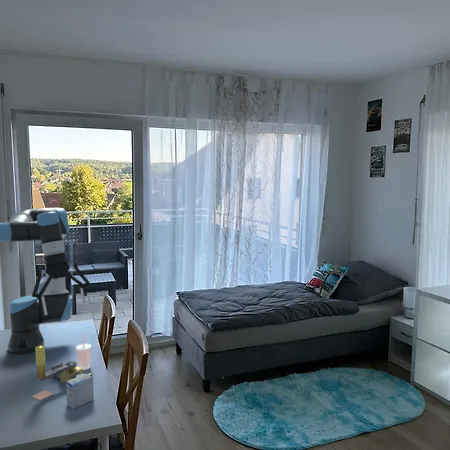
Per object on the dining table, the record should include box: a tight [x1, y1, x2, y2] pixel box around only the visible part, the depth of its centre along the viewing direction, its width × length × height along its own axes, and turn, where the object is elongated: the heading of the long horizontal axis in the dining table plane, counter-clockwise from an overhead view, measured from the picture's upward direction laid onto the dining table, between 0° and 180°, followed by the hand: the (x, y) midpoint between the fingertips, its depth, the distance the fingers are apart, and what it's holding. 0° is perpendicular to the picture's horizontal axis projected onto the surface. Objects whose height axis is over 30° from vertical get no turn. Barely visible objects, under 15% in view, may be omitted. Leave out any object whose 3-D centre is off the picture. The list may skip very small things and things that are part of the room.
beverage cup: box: [75, 334, 92, 371], centre depth 172 cm, size 6×6×14 cm
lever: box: [34, 344, 78, 382], centre depth 154 cm, size 16×4×12 cm, turn 148°
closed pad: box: [31, 389, 54, 402], centre depth 149 cm, size 5×5×1 cm
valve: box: [50, 362, 93, 386], centre depth 160 cm, size 18×6×6 cm, turn 58°
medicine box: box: [65, 373, 95, 410], centre depth 144 cm, size 8×4×9 cm, turn 141°
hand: (65, 310), depth 154 cm, fingers open, 13 cm apart
